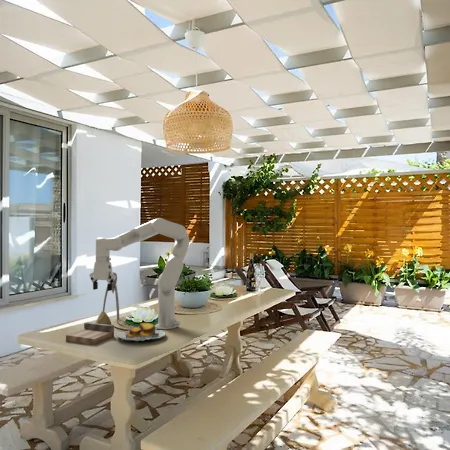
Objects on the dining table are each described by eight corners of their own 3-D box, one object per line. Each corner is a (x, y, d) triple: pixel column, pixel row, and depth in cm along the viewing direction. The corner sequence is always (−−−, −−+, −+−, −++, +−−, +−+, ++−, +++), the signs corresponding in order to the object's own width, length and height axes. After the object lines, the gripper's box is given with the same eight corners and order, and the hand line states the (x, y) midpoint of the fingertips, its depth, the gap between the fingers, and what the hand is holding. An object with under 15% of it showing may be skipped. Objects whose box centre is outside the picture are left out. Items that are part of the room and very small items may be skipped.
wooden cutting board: (114, 336, 228) (114, 325, 227) (94, 344, 213) (94, 332, 213) (86, 333, 234) (86, 322, 234) (65, 341, 219) (65, 329, 219)
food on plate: (106, 340, 222) (106, 327, 222) (141, 329, 242) (141, 318, 242) (141, 348, 208) (141, 335, 207) (175, 336, 228) (175, 324, 228)
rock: (117, 325, 241) (111, 320, 249) (109, 315, 237) (103, 309, 245) (102, 339, 236) (96, 333, 244) (93, 329, 233) (87, 322, 241)
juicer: (118, 323, 254) (117, 273, 254) (102, 322, 258) (101, 272, 257) (126, 319, 264) (126, 271, 263) (111, 318, 267) (111, 270, 267)
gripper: (119, 259, 240) (119, 290, 241) (94, 258, 247) (94, 287, 247) (111, 261, 233) (111, 292, 234) (85, 259, 240) (85, 289, 240)
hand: (102, 289), depth 240 cm, fingers open, 9 cm apart
